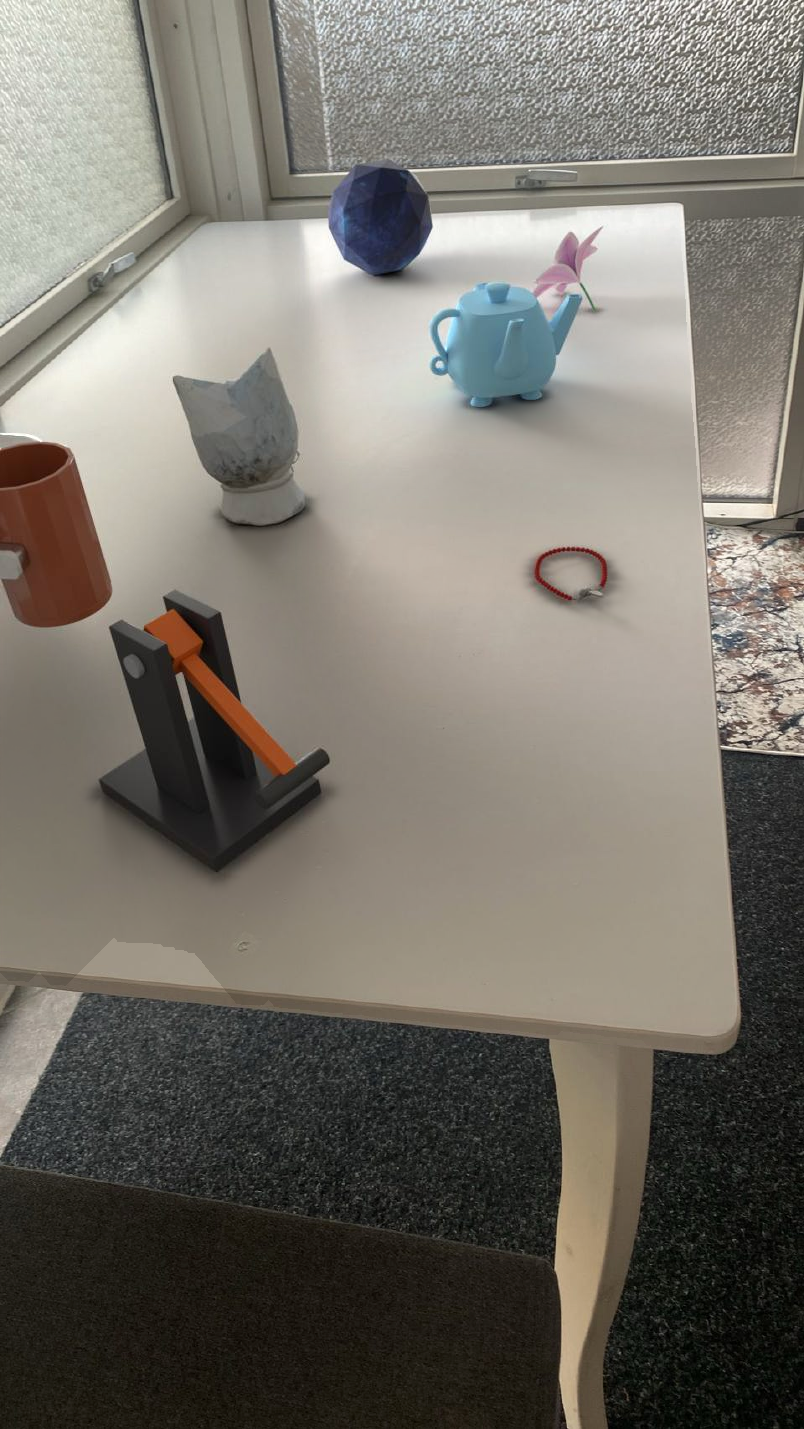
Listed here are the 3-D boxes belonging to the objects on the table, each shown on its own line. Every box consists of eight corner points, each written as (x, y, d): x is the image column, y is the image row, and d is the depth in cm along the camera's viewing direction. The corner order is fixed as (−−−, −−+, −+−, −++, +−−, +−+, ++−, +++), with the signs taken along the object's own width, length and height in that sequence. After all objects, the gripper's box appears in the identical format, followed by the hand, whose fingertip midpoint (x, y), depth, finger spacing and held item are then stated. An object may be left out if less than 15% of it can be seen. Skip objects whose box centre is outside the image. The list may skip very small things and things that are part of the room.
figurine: (313, 480, 109) (290, 328, 100) (304, 526, 102) (278, 366, 92) (214, 487, 110) (182, 336, 100) (198, 533, 102) (162, 375, 93)
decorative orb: (457, 238, 150) (428, 129, 150) (350, 258, 147) (320, 147, 147) (433, 281, 164) (406, 181, 164) (335, 300, 161) (308, 199, 161)
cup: (49, 639, 72) (0, 500, 66) (-6, 606, 76) (-56, 472, 70) (132, 593, 76) (93, 457, 70) (76, 564, 80) (35, 433, 73)
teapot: (596, 380, 122) (598, 274, 115) (522, 426, 114) (519, 316, 107) (485, 356, 130) (481, 256, 123) (409, 398, 123) (400, 293, 116)
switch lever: (325, 771, 67) (335, 753, 65) (263, 817, 64) (271, 800, 62) (186, 619, 69) (191, 597, 67) (120, 657, 66) (124, 636, 64)
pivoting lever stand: (321, 792, 73) (289, 616, 64) (216, 872, 68) (166, 693, 60) (205, 724, 80) (162, 556, 71) (102, 792, 75) (43, 621, 66)
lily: (611, 294, 146) (579, 225, 143) (646, 282, 135) (612, 206, 132) (533, 341, 146) (499, 272, 143) (562, 332, 134) (526, 257, 132)
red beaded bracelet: (620, 602, 87) (621, 591, 86) (544, 610, 87) (543, 600, 86) (599, 547, 94) (599, 537, 93) (527, 555, 94) (527, 544, 93)
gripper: (-255, 561, 66) (-48, 570, 63) (-69, 416, 81) (104, 417, 78) (-209, 649, 70) (-12, 661, 66) (-40, 494, 85) (126, 498, 82)
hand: (52, 528), depth 72 cm, fingers closed on cup, 7 cm apart
